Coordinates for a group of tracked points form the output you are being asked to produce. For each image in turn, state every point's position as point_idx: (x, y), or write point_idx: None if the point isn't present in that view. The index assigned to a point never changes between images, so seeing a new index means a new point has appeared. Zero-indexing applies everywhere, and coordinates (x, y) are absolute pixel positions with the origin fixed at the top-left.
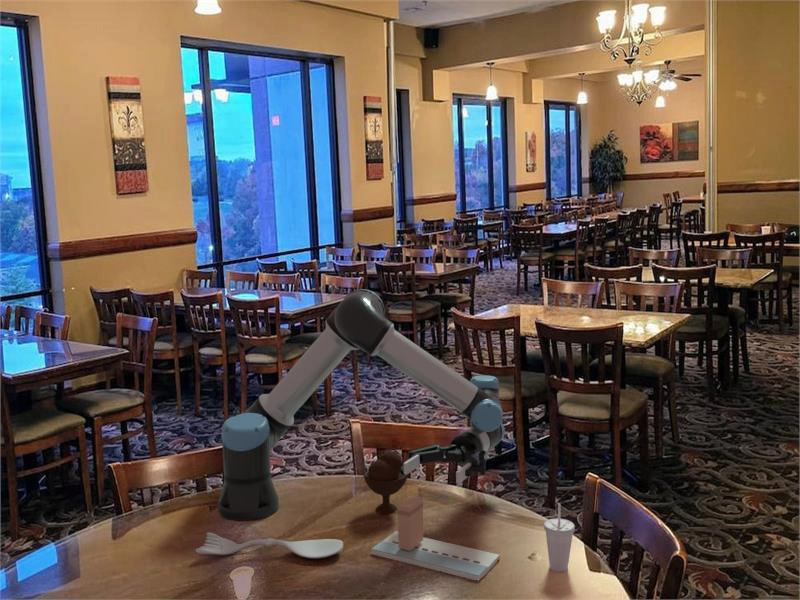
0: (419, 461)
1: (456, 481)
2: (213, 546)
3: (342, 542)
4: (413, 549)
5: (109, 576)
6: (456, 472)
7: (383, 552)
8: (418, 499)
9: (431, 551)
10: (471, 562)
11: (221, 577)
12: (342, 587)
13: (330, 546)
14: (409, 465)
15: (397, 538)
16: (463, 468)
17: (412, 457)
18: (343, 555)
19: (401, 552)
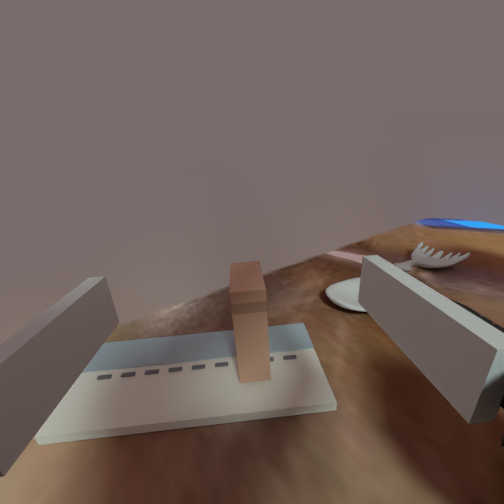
0: (474, 391)
1: (115, 315)
2: (435, 254)
3: (344, 303)
4: None
5: (422, 232)
6: (103, 278)
7: (280, 325)
8: (234, 284)
9: (206, 366)
10: (116, 372)
11: (369, 253)
12: (268, 279)
13: (354, 301)
14: (376, 286)
15: (301, 373)
16: (51, 307)
17: (447, 298)
18: (331, 311)
19: None
